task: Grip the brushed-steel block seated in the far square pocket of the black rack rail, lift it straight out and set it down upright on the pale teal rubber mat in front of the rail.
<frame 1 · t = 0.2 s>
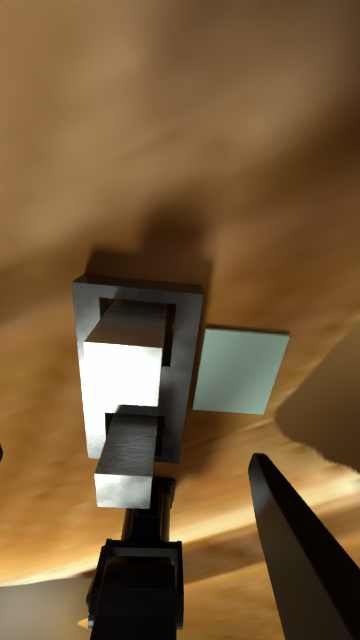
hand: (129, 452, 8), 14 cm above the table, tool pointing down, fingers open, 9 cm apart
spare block: (138, 416, 27), resting in rack rail
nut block: (141, 321, 22), resting in rack rail
rack rail: (139, 374, 24), on the table
mat: (236, 373, 24), on the table
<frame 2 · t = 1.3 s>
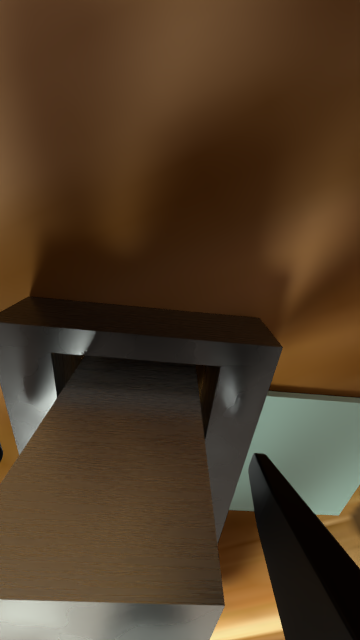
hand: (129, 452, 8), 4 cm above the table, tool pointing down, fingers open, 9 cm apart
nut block: (143, 380, 12), resting in rack rail
rack rail: (139, 459, 14), on the table
mat: (303, 458, 14), on the table
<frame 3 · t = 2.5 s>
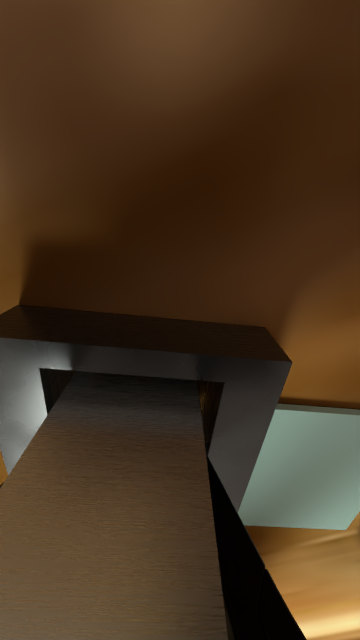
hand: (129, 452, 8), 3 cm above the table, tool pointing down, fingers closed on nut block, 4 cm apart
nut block: (141, 392, 11), resting in rack rail, touching gripper
rack rail: (137, 473, 14), on the table
mat: (309, 472, 14), on the table
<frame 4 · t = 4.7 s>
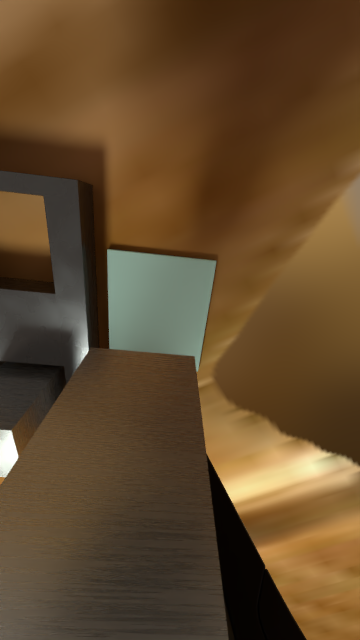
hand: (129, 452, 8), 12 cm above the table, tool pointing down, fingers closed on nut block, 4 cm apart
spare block: (46, 373, 22), resting in rack rail
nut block: (141, 392, 11), point 9 cm above the table, touching gripper
rack rail: (37, 315, 19), on the table
mat: (158, 315, 19), on the table
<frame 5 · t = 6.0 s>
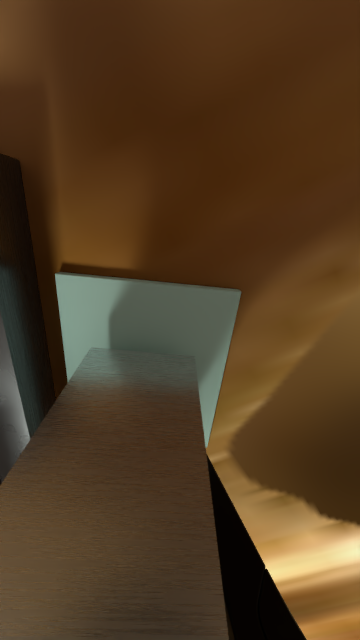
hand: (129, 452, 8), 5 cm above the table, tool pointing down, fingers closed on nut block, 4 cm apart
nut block: (141, 392, 11), point 2 cm above the table, touching gripper
mat: (146, 372, 12), on the table
when the fingers open (4 cm above the table, at t = 6.8 s): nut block stays where it is, resting on mat.
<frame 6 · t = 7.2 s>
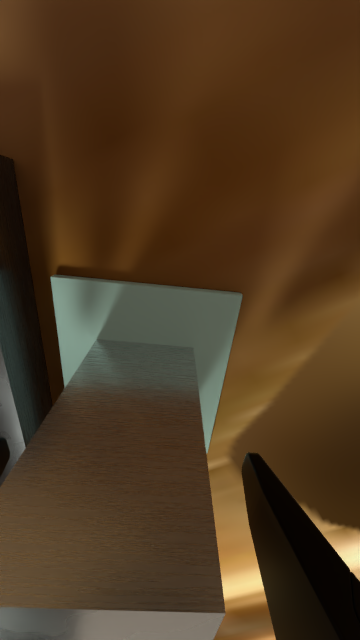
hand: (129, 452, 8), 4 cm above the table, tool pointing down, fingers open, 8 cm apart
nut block: (143, 381, 12), resting on mat
mat: (144, 376, 12), on the table
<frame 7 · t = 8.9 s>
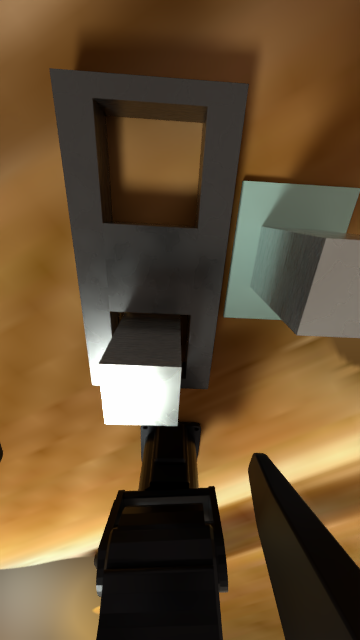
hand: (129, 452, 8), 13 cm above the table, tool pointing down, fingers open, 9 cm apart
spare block: (153, 332, 21), resting in rack rail
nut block: (284, 259, 18), resting on mat
rack rail: (153, 265, 18), on the table
mat: (282, 259, 18), on the table
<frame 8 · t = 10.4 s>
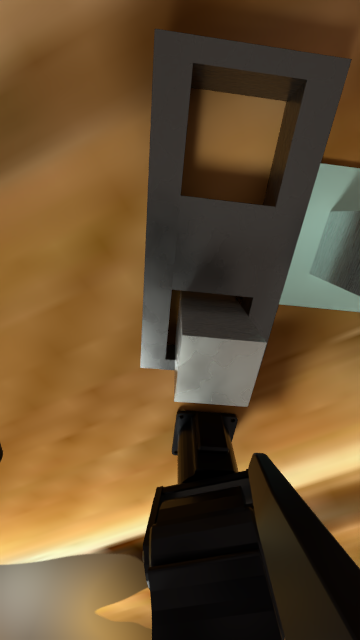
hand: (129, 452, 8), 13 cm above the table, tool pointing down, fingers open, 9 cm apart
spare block: (203, 317, 20), resting in rack rail
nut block: (347, 247, 18), resting on mat
rack rail: (214, 246, 18), on the table
mat: (344, 247, 18), on the table
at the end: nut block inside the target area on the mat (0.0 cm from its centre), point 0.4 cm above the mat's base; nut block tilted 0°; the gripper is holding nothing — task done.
